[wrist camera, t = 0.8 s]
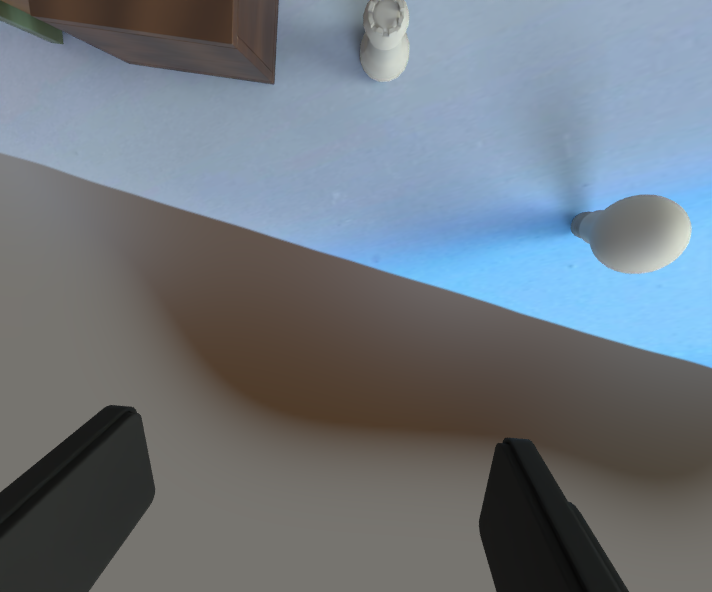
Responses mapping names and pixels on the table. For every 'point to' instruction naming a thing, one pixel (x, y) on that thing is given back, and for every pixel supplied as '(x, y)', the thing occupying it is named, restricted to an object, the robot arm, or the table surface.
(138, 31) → the cabinet
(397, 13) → the rook chess piece
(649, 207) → the lightbulb
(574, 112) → the table surface
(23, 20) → the drawer
